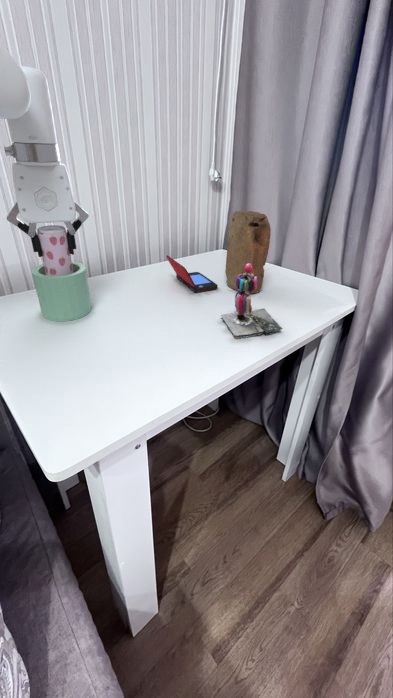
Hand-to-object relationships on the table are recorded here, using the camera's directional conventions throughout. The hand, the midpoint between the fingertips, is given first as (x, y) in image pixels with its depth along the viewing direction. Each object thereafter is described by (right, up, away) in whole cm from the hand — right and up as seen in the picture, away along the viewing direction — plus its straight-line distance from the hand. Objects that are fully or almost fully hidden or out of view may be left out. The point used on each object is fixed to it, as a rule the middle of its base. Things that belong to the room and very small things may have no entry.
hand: (56, 253), depth 70 cm
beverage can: (0, -8, +5) cm, 10 cm away
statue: (+42, -15, +5) cm, 45 cm away
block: (+43, -3, +23) cm, 49 cm away
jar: (0, -11, +7) cm, 14 cm away
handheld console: (+28, -2, +24) cm, 37 cm away
